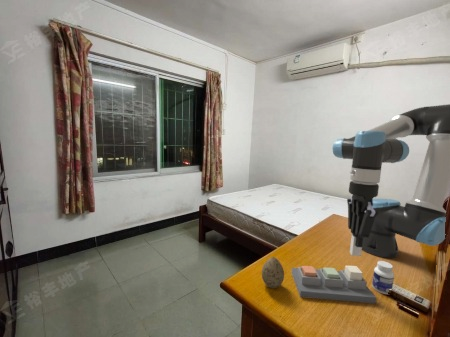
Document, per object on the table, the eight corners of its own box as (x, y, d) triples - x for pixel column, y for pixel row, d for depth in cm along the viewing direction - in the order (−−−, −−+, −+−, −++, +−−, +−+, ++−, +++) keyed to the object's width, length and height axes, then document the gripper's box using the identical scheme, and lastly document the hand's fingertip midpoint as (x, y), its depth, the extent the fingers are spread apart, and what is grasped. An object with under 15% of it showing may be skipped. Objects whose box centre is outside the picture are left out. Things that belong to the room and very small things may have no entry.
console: (354, 277, 75) (356, 265, 74) (375, 303, 63) (377, 289, 62) (291, 272, 77) (292, 261, 76) (300, 296, 65) (301, 283, 64)
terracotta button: (312, 274, 72) (312, 266, 71) (315, 281, 68) (316, 273, 68) (301, 273, 72) (301, 265, 72) (304, 280, 68) (305, 272, 68)
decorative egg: (266, 276, 74) (267, 249, 73) (286, 284, 70) (288, 256, 69) (257, 287, 68) (259, 259, 67) (278, 297, 64) (281, 266, 63)
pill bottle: (369, 282, 73) (373, 258, 72) (388, 286, 71) (391, 261, 70) (374, 292, 68) (377, 266, 67) (394, 296, 66) (398, 270, 65)
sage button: (333, 276, 71) (334, 268, 71) (338, 283, 68) (339, 274, 67) (322, 275, 71) (323, 267, 71) (326, 282, 68) (327, 273, 67)
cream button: (355, 274, 70) (356, 266, 70) (361, 281, 67) (362, 272, 66) (344, 273, 71) (345, 265, 70) (349, 280, 67) (350, 272, 67)
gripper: (341, 177, 71) (334, 243, 74) (363, 186, 58) (353, 265, 61) (364, 179, 71) (356, 245, 74) (391, 187, 58) (380, 267, 61)
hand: (355, 254), depth 68 cm, fingers closed
